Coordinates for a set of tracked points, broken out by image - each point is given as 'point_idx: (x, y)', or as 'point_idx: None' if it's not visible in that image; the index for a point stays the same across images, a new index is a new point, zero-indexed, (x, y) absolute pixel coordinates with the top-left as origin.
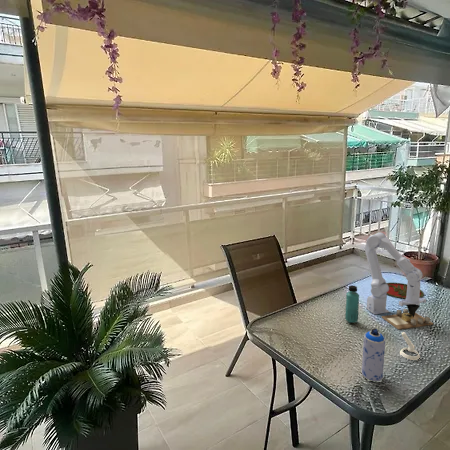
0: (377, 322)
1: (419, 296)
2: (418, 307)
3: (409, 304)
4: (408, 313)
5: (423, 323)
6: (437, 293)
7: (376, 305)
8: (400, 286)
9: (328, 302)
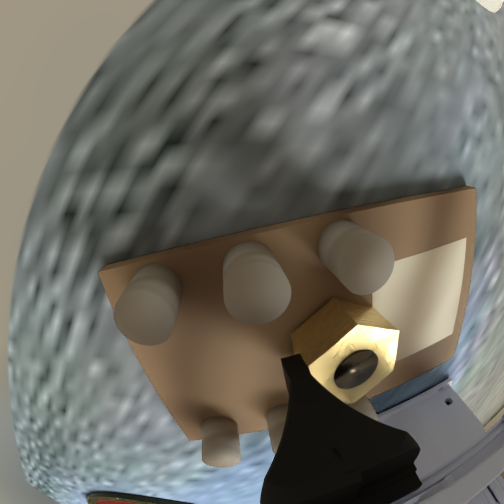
0: (495, 288)
1: (106, 498)
2: (283, 474)
3: (415, 481)
4: None
5: (208, 268)
6: (44, 482)
7: (461, 423)
8: None
9: (487, 412)
